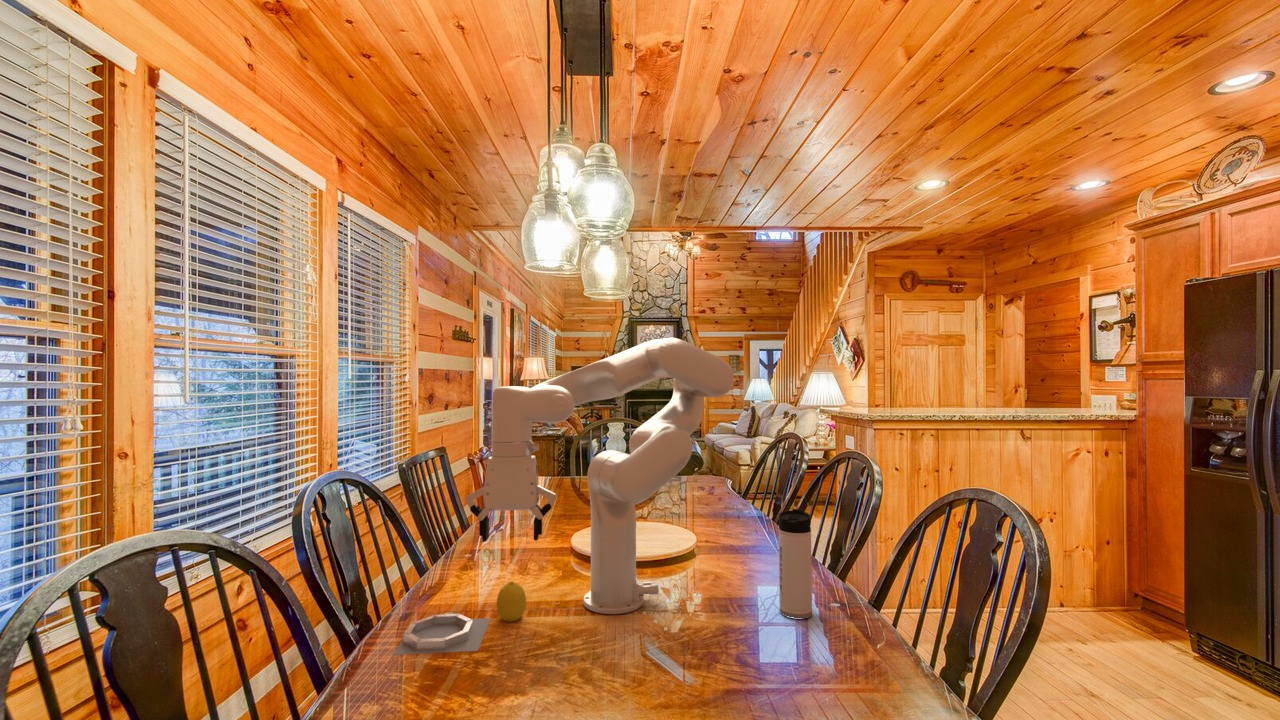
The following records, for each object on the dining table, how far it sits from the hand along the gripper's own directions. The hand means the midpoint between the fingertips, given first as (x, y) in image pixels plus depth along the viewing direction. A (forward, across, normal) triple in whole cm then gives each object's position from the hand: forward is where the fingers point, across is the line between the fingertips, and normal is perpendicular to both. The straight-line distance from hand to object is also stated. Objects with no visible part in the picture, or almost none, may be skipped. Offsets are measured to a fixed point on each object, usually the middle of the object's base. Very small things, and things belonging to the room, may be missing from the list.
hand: (511, 539), depth 109 cm
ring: (+15, +12, +6) cm, 20 cm away
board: (+16, +11, +6) cm, 20 cm away
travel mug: (+16, -56, +1) cm, 58 cm away
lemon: (+16, 0, 0) cm, 16 cm away
